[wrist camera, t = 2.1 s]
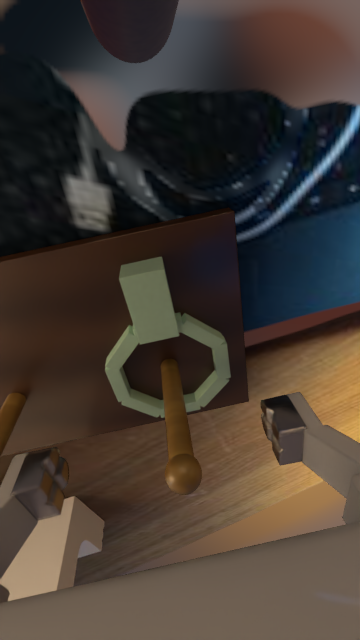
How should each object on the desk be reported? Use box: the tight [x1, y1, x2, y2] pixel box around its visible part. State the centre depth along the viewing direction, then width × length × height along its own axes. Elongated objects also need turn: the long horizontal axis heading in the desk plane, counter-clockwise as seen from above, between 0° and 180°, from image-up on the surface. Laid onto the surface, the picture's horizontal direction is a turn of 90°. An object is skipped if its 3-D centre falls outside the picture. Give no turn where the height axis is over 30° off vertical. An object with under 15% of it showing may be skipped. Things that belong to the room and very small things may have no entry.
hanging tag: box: [105, 257, 231, 418], centre depth 23 cm, size 15×10×2 cm
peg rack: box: [0, 208, 249, 495], centre depth 20 cm, size 19×28×13 cm
